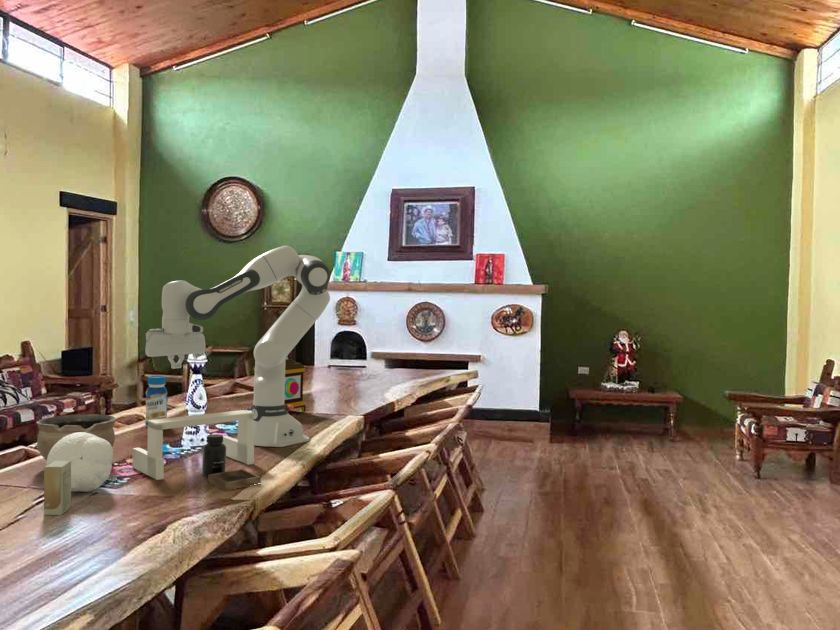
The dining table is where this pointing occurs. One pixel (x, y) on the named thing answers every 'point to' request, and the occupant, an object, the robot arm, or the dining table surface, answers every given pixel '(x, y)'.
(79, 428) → the ceramic bowl
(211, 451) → the supplement bottle
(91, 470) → the decorative orb
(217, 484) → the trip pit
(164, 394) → the beverage bottle
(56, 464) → the skincare box
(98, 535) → the dining table surface
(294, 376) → the decorative lantern
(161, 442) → the arch lane
